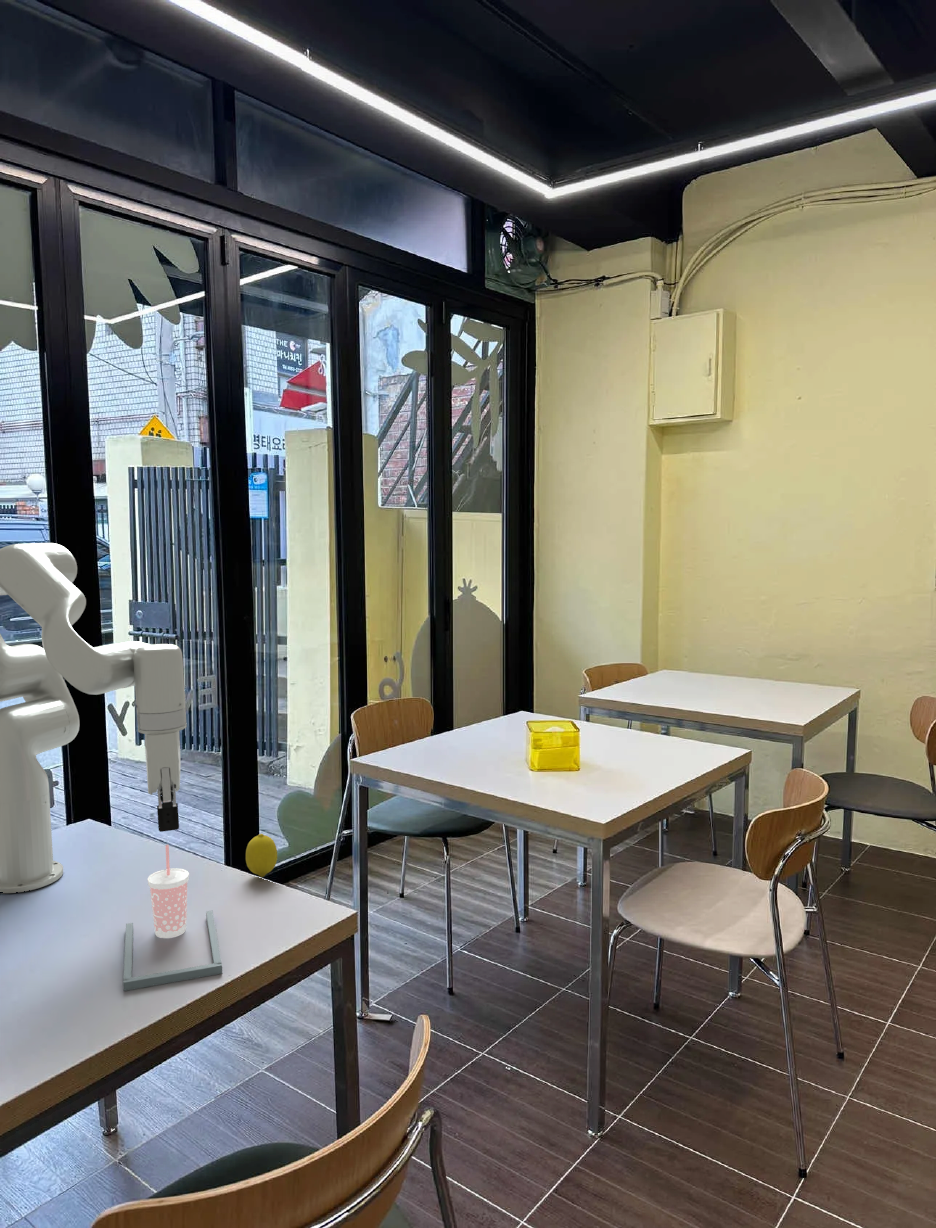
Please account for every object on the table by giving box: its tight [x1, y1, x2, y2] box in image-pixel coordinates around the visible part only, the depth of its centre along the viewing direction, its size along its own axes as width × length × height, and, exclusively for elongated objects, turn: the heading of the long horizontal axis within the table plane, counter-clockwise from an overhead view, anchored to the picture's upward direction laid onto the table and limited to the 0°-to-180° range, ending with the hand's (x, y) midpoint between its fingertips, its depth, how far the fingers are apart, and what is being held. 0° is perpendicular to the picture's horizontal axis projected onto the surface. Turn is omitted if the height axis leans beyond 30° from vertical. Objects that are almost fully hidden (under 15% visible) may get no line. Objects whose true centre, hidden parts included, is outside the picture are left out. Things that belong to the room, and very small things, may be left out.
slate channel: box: [122, 910, 223, 992], centre depth 129 cm, size 18×13×1 cm
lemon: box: [245, 833, 278, 878], centre depth 155 cm, size 6×6×8 cm
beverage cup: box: [147, 843, 190, 939], centre depth 134 cm, size 6×6×14 cm
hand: (168, 828), depth 143 cm, fingers closed
